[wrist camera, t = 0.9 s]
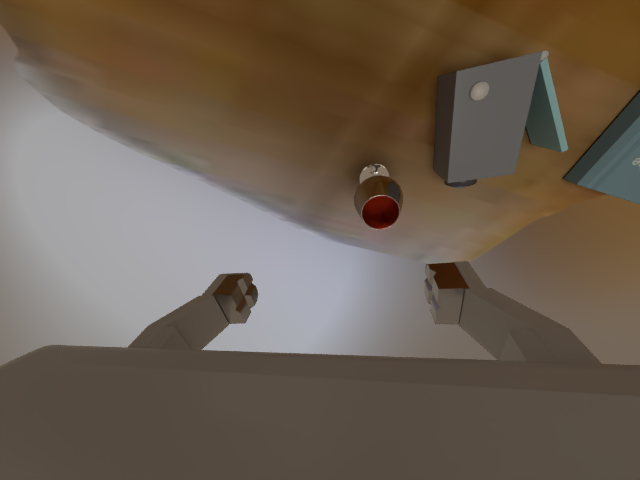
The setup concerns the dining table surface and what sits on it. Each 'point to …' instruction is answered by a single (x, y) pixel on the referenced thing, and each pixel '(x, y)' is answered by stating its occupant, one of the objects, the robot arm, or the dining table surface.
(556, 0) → the dining table surface
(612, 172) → the book
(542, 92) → the side door
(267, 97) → the dining table surface
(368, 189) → the wineglass
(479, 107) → the housing
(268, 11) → the dining table surface
